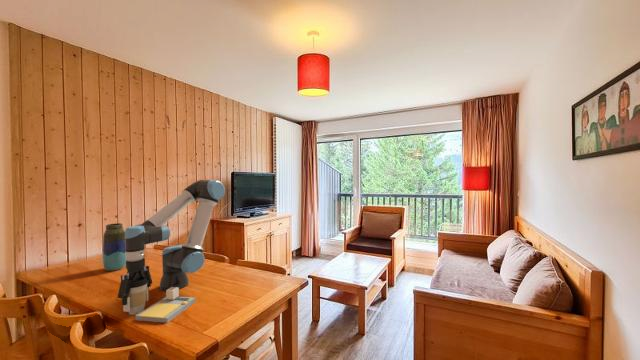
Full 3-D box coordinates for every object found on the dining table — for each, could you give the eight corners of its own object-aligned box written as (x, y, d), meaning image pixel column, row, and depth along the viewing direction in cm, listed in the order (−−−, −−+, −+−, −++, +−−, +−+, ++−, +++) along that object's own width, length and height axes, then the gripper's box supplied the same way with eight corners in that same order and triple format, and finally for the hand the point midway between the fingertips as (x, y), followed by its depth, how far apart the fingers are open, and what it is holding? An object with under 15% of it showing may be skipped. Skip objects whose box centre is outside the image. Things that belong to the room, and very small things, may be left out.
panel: (134, 320, 120) (134, 315, 120) (167, 299, 141) (167, 294, 141) (166, 323, 118) (166, 317, 118) (195, 301, 138) (195, 296, 138)
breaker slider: (166, 299, 136) (166, 289, 136) (171, 295, 140) (171, 286, 140) (173, 299, 135) (173, 290, 135) (178, 296, 139) (178, 287, 139)
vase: (131, 267, 192) (130, 223, 191) (107, 273, 180) (106, 226, 179) (122, 264, 199) (121, 222, 199) (99, 270, 187) (98, 225, 187)
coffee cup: (132, 306, 133) (131, 276, 133) (152, 305, 134) (152, 275, 134) (118, 317, 123) (118, 284, 123) (141, 316, 124) (140, 283, 124)
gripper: (121, 267, 117) (122, 318, 117) (160, 252, 139) (161, 295, 139) (106, 266, 118) (107, 317, 118) (147, 252, 140) (148, 294, 141)
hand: (136, 305), depth 129 cm, fingers open, 10 cm apart
